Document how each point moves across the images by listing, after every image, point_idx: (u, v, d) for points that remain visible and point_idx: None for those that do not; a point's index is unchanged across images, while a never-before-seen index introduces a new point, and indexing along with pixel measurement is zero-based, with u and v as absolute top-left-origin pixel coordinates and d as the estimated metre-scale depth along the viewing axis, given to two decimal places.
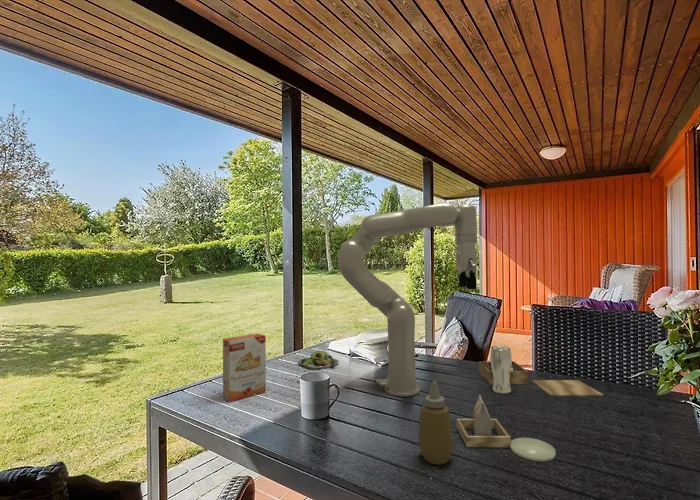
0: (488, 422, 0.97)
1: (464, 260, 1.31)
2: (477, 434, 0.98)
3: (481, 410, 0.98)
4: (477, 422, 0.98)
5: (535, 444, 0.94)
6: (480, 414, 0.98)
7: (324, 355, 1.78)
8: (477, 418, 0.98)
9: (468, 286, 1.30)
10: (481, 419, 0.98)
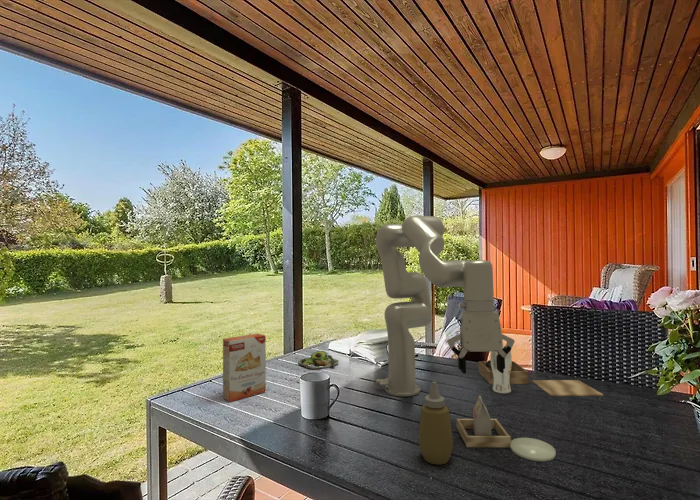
0: (488, 422, 0.97)
1: (501, 335, 0.99)
2: (477, 434, 0.98)
3: (481, 410, 0.98)
4: (477, 422, 0.98)
5: (535, 444, 0.94)
6: (480, 414, 0.98)
7: (324, 355, 1.78)
8: (477, 418, 0.98)
9: None
10: (481, 419, 0.98)
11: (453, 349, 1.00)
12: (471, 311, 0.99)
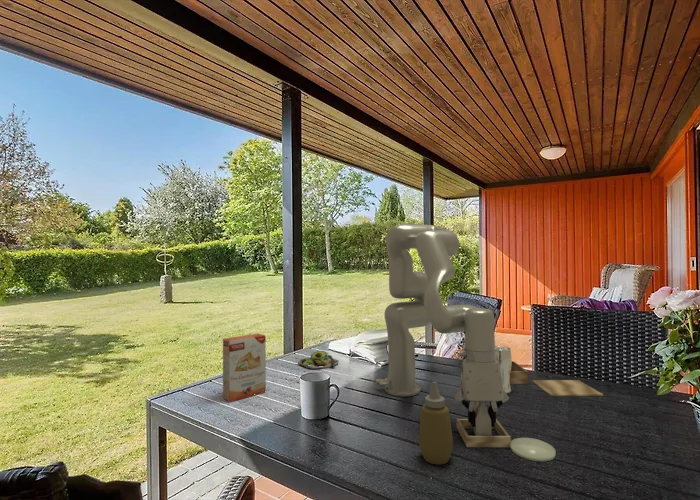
0: (488, 422, 0.97)
1: (502, 385, 0.98)
2: (477, 434, 0.98)
3: (481, 410, 0.98)
4: (477, 422, 0.98)
5: (535, 444, 0.94)
6: (480, 414, 0.98)
7: (324, 355, 1.78)
8: (477, 418, 0.98)
9: None
10: (481, 419, 0.98)
11: (463, 402, 1.00)
12: (472, 361, 0.99)
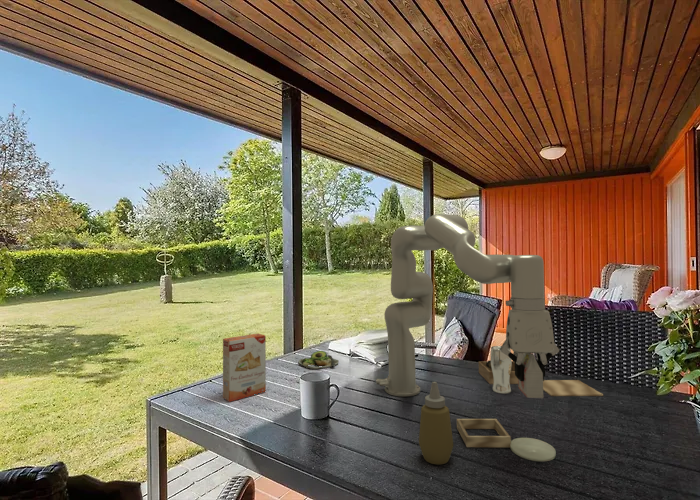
0: (539, 375, 0.90)
1: (553, 336, 0.91)
2: (528, 388, 0.90)
3: (531, 362, 0.91)
4: (528, 375, 0.90)
5: (535, 444, 0.94)
6: (530, 367, 0.91)
7: (324, 355, 1.78)
8: (527, 371, 0.91)
9: None
10: (532, 372, 0.90)
11: (510, 355, 0.93)
12: (520, 309, 0.91)
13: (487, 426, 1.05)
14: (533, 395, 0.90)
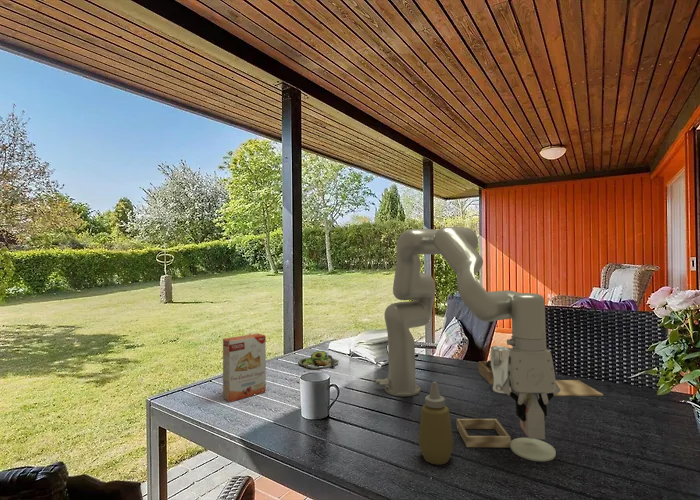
0: (541, 415, 0.90)
1: (554, 376, 0.91)
2: (529, 429, 0.90)
3: (533, 403, 0.91)
4: (529, 416, 0.90)
5: (535, 444, 0.94)
6: (532, 407, 0.90)
7: (324, 355, 1.78)
8: (529, 412, 0.90)
9: None
10: (533, 412, 0.90)
11: (511, 394, 0.93)
12: (522, 349, 0.91)
13: (487, 426, 1.05)
14: (535, 436, 0.90)
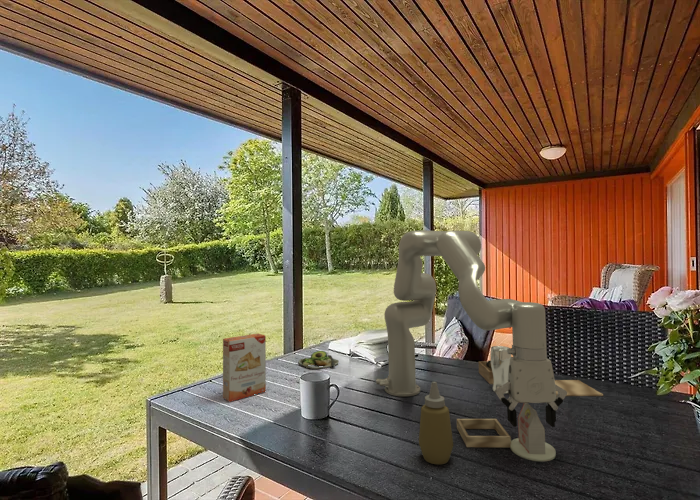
0: (541, 431, 0.90)
1: (555, 385, 0.91)
2: (530, 444, 0.90)
3: (533, 418, 0.91)
4: (530, 431, 0.90)
5: None
6: (532, 422, 0.90)
7: (324, 355, 1.78)
8: (530, 427, 0.90)
9: None
10: (534, 428, 0.90)
11: (503, 400, 0.93)
12: (522, 359, 0.91)
13: (487, 426, 1.05)
14: (535, 451, 0.90)
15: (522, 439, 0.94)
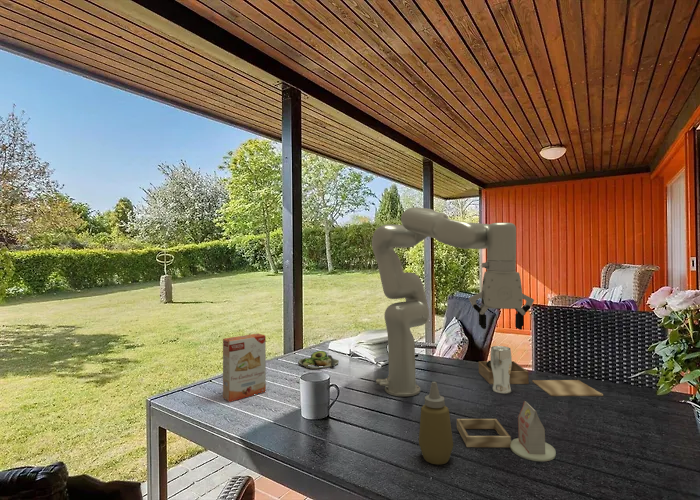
0: (541, 431, 0.90)
1: (522, 294, 1.04)
2: (530, 444, 0.90)
3: (533, 418, 0.91)
4: (530, 431, 0.90)
5: None
6: (532, 422, 0.90)
7: (324, 355, 1.78)
8: (530, 427, 0.90)
9: None
10: (534, 428, 0.90)
11: (475, 306, 1.06)
12: (494, 270, 1.04)
13: (487, 426, 1.05)
14: (535, 451, 0.90)
15: (522, 439, 0.94)
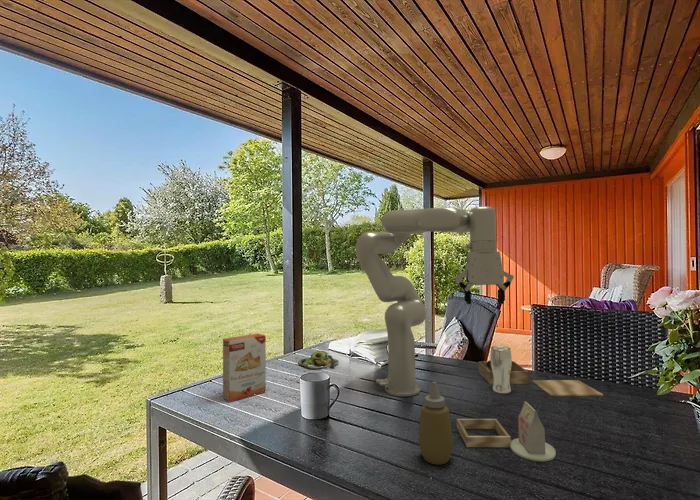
0: (541, 431, 0.90)
1: (502, 271, 1.14)
2: (530, 444, 0.90)
3: (533, 418, 0.91)
4: (530, 431, 0.90)
5: None
6: (532, 422, 0.90)
7: (324, 355, 1.78)
8: (530, 427, 0.90)
9: None
10: (534, 428, 0.90)
11: (460, 283, 1.16)
12: (476, 250, 1.14)
13: (487, 426, 1.05)
14: (535, 451, 0.90)
15: (522, 439, 0.94)
